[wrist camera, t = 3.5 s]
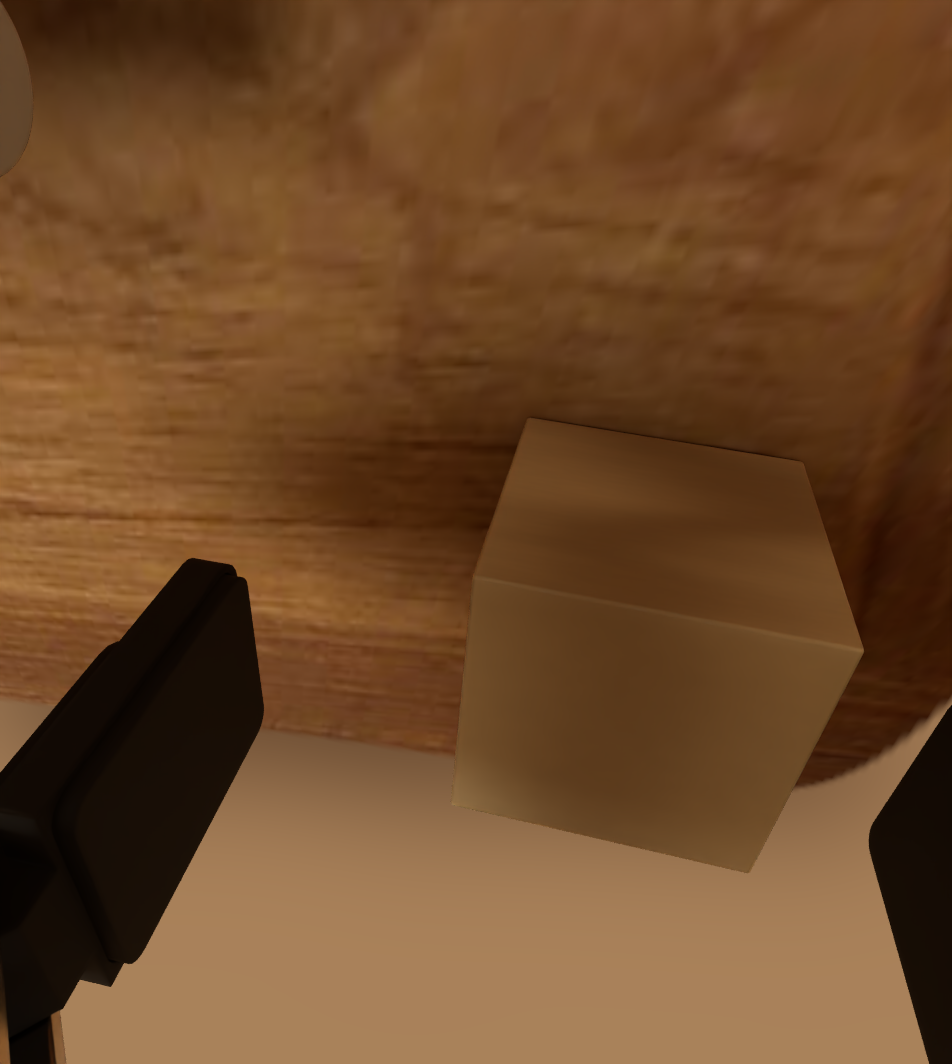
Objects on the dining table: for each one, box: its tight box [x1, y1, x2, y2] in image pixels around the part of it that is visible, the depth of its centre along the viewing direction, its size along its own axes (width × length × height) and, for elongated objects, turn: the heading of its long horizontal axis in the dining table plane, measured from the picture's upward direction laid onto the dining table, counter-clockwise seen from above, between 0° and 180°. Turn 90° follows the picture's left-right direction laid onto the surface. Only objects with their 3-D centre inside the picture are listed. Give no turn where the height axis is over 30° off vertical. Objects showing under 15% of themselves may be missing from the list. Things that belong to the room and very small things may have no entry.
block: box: [451, 418, 864, 873], centre depth 12 cm, size 5×5×5 cm
